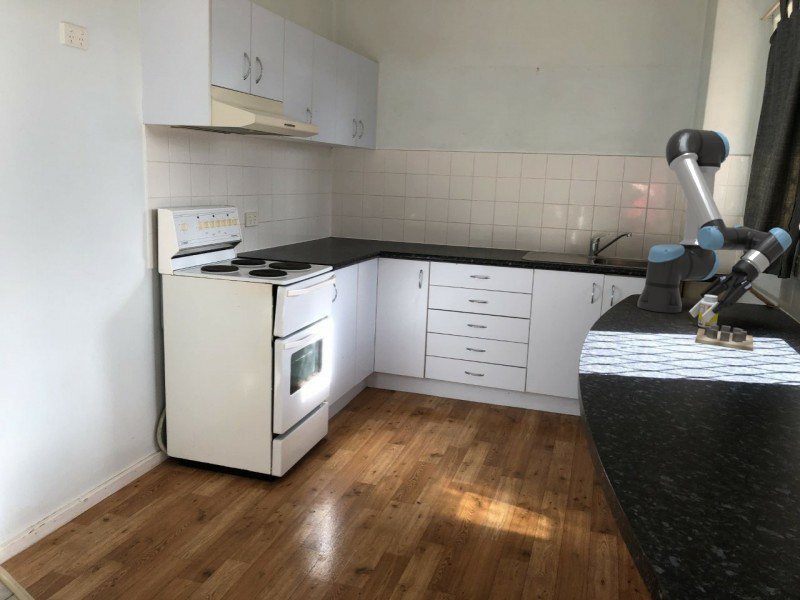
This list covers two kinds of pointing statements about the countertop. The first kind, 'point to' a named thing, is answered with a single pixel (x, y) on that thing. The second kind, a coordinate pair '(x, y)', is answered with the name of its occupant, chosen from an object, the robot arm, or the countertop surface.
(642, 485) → the countertop surface
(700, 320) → the supplement bottle
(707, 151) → the robot arm
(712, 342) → the collar plate
